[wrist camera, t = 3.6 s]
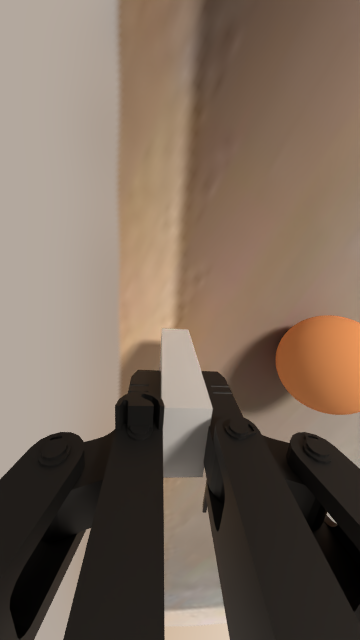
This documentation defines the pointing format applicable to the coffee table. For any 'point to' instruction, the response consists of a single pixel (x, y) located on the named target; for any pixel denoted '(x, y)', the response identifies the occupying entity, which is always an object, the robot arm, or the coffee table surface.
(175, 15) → the coffee table surface
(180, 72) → the coffee table surface
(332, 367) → the ball
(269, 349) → the coffee table surface
